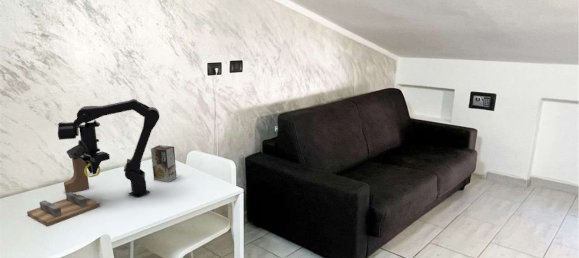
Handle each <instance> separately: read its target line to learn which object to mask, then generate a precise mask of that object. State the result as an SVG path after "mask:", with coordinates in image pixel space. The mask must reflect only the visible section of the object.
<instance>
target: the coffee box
mask: <svg viewBox="0 0 579 258" xmlns="http://www.w3.org/2000/svg"><path fill="white" fill-rule="evenodd" d="M150 152H151V154H150V155H151V164H152V165H151V166H152V174H153V181H157V182H158V181H159V182H165V183H170V182H172V181H174V180H176V179H177V165H176V156H175V155H176V153H175V146H173V145H172V146H170V145H161V144H159V145H156V146H154V147H152V148H150Z"/></svg>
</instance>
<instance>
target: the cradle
mask: <svg viewBox="0 0 579 258" xmlns="http://www.w3.org/2000/svg"><path fill="white" fill-rule="evenodd" d="M100 207H101V204H100V202H99V201H96V200H94V199H91V198H89V197H86V196H84V195H81V194H79V193H78V194H77V193H75V192H73V193H72V192H69V193H66V192H65V198H64V199H60V200H58V201H54V202H52V203H51V202H50V201H48V200H42V201H39V207H37V208H35V209H34V208H33V209H31V210H27V212H26V214H27V216H28V217H29V218H32V219H34V220H36V221H38V222H39V223H41V224H43V225H44V226H46V227H50V226H52V225H55V224H58V223H61V222H63V221H66V220H68V219H71V218H73V217H77V216H79V215H81V214H84V213H87V212H90V211H92V210H95V209H98V208H100Z"/></svg>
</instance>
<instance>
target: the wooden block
mask: <svg viewBox="0 0 579 258" xmlns="http://www.w3.org/2000/svg"><path fill="white" fill-rule="evenodd" d="M71 160H72V161H71V162H72V169H73V175H72V177H71V178H70V179H68V180H65V181H63V185H64V191H65V194H66V193H69V192H72V193H77V192H81V191H85V190H89V189H90V184H89V177H88V176H86V174H85V173H84V169H85V167H86V164H85V162H84V161H83V160H81V159H79V158H78V159H76V160H73V159H71ZM86 173H87V174H88V169H87V170H86Z"/></svg>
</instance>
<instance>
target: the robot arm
mask: <svg viewBox="0 0 579 258" xmlns="http://www.w3.org/2000/svg"><path fill="white" fill-rule="evenodd" d="M128 111H135V112H136V113H138V114H139V115H140V116H142V117H143V123H142V124H143V125H142V129H141V131H140V134H139V138H138V140H137V143H136V146H135V149H134V151H133V155H132V157H131V158H130V159H129V158H127V159H126V164H125V165H124V167H123V172H124V176H125V178H126V179H127V180H129V181H130V186H131V188H130V189H131V192H128V195H130V196H133V197H135V198H140V197H142V196H144V195H147V194H150V193H151V191H150V190H147V189H148V188H147V180H146V172H145V171H143V170H142V169H141V164H142V160H143V156H144V153H145V151H146V148H147V145H148V142H149V139H150V137H151V134H152V131H153V129H154V128H155V127H156V125H157V123H158V122H159V120H160V112H159V110H158V109H157V108H156V107H153V106H152V107H151V106H149V105H147V104H144V103H142V102H140V101H138V100H137V99H135V98H132V99H129V100H125V101H120V102H115V103H112V104H111V103H110V104H105V105H87V106H82V107H80V109H78V111H77V112H76V118H75V119H74V120H73V121H72V122H71V121H70V122H62V121H61V122H58V124H57V137H58V140H60V141H61V140H74V139H75V140H76V139H77V137H80V140H78V141H77V143H78V144H77V145H75V146H72V147H71V148H69V149H68V150H66V154H67V155H68V156H67V157H68V158H69V159H71V160H72V159H73V160H76V159H78V158H79V159H81V160H83V161H84V162H85V164H86V166H87V165H88V163H90V165H91V166H89V167H88V168H87V171H88V172H89V174H92V175H95V174H97V172H98V170H99V169H98V167H99V166H100V164H101V163H102V162H104V161H105V162H106V161H108V160H110V159H111V155H110V154H109V153H108V152H106V151H101V149H100V148H99V147H98V143H99V142H100V139H98V138H97V131H96V128H98V127H100V126H101V123H100V122H98V121H97V119H99V118H101V117H105V116H110V115H113V114H118V113H123V112H128ZM83 123H84V124H83ZM79 135H80V136H79Z"/></svg>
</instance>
